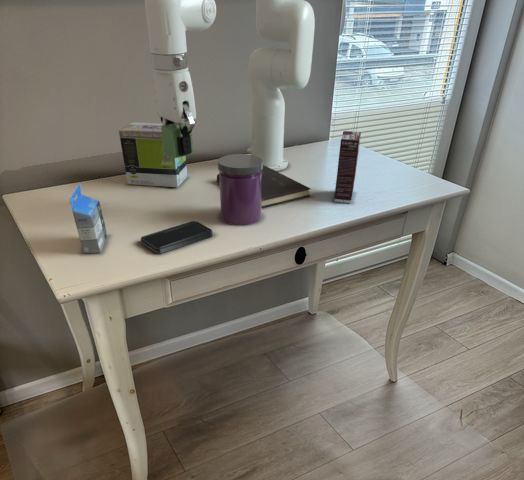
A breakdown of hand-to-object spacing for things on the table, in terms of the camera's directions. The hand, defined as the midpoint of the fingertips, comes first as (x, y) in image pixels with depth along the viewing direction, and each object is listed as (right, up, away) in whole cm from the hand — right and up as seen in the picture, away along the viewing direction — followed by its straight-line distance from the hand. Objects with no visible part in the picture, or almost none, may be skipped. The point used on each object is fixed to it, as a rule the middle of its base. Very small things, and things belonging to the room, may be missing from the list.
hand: (178, 150), depth 115 cm
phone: (0, -21, -3) cm, 22 cm away
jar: (+14, -14, +7) cm, 21 cm away
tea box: (-10, +2, +27) cm, 29 cm away
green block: (0, 0, 0) cm, 1 cm away
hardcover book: (+19, -2, +22) cm, 30 cm away
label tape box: (-17, -23, -6) cm, 30 cm away
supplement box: (+42, -5, +18) cm, 46 cm away
